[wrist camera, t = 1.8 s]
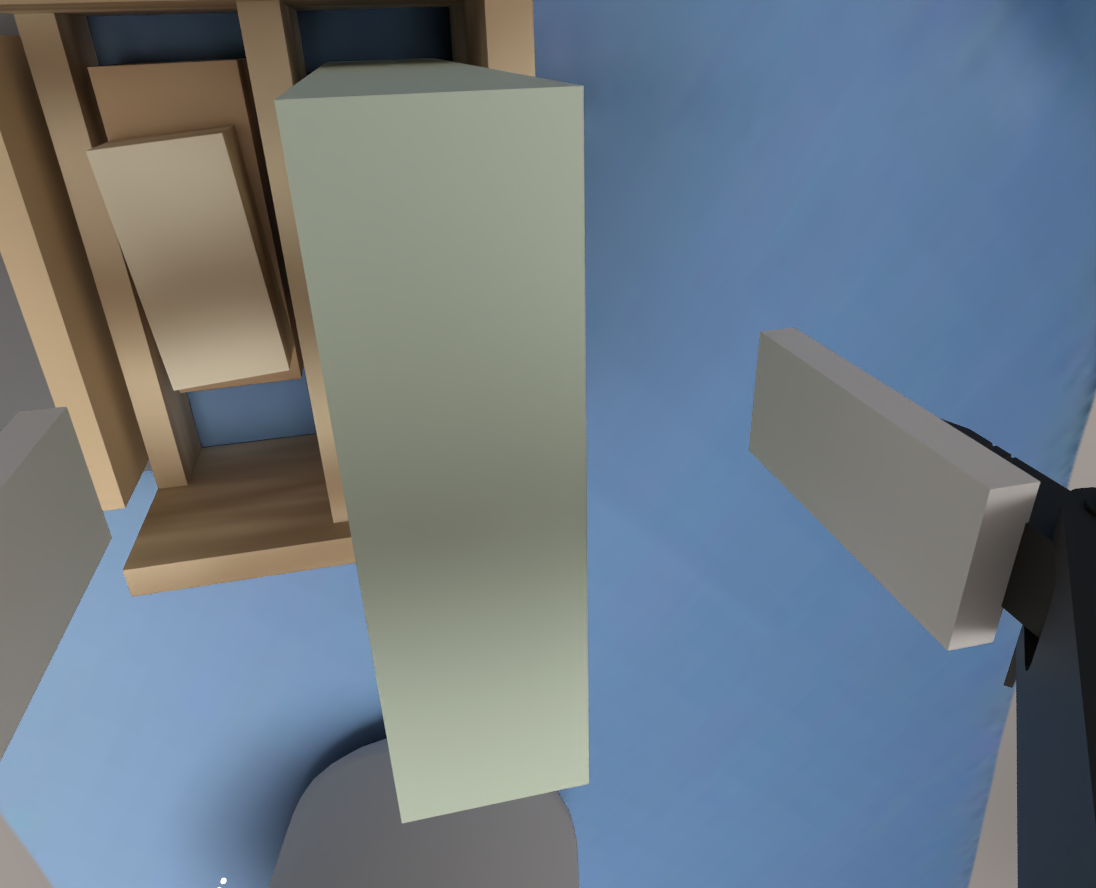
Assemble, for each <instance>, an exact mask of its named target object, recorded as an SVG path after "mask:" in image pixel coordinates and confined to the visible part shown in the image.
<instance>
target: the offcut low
mask: <svg viewBox="0 0 1096 888" xmlns="http://www.w3.org/2000/svg"><path fill="white" fill-rule="evenodd" d="M87 68H88V72H89V75H90V79H91V82H92V86H93V89H94V93H95V96H96V100H97V103H98V107H99V110H100V114H101V117H102V121H103V124H104V128H105V131H106V135H107V138H108V142H109V141H112V140H120V139H127V138H135V137H143V136H150V135H158V134H166V133H173V132H181V131H188V130H196V129H204V128H211V127H219V126H227V125H234V126H235V130H236V134H237V137H238V141H239V144H240V148H241V152H242V155H243V159H244V162H245V166H246V170H247V173H248V177H249V181H250V184H251V188H252V191H253V195H254V199H255V202H256V206H257V209H258V213H259V217H260V220H261V224H262V227H263V231H264V235H265V238H266V242H267V246H268V249H269V253H270V256H271V260H272V264H273V267H274V271H275V274H276V278H277V282H278V285H279V289H280V292H281V296H282V300H283V303H284V307H285V311H286V314H287V318H288V321H289V325H290V329H291V332H292V336H293V339H294V343H295V344H294V349H293V355H292V360H291V366H290V370H288V371H282V372H277V373H271V374H265V375H260V376H254V377H248V378H243V379H237V380H232V381H226V382H220V383H215V384H209V385H203V386H198V387H192V388H187V389H181V390H180V393H184V392H193V391H201V390H209V389H218V388H226V387H234V386H243V385H251V384H259V383H268V382H276V381H284V380H293V379H301V377H302V370H303V358H302V352H301V347H300V342H299V336H298V331H297V326H296V320H295V315H294V310H293V304H292V299H291V294H290V288H289V283H288V278H287V272H286V267H285V262H284V256H283V251H282V246H281V240H280V235H279V230H278V224H277V219H276V214H275V208H274V203H273V198H272V192H271V187H270V182H269V176H268V171H267V166H266V160H265V155H264V150H263V144H262V139H261V134H260V128H259V123H258V118H257V112H256V107H255V102H254V96H253V91H252V86H251V80H250V75H249V70H248V64H247V59H246V58H237V59H217V60H196V61H175V62H154V63H134V64H115V65H105V66H94V67H87Z"/></svg>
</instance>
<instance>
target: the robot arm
mask: <svg viewBox="0 0 1096 888" xmlns="http://www.w3.org/2000/svg"><path fill="white" fill-rule="evenodd" d="M749 451H750V452H751V453H752V454H753V455H754V456H755V457H756V458H757V459H758V460H759V461H760V462H761V463H762V464H763V465H764V466H765V467H766V468H767V469H768V470H769V471H770V472H771V473H772V474H773V475H774V476H775V477H776V478H777V479H778V480H779V481H780V482H781V483H782V484H783V485H784V486H785V487H786V488H787V489H788V490H789V491H790V492H791V493H792V494H793V495H794V496H795V497H796V498H797V499H798V500H799V501H800V502H801V503H802V504H803V505H804V506H805V507H806V508H807V509H808V510H809V511H810V512H811V513H812V514H813V516H814V517H815V518H816V519H817V520H818V521H819V522H820V523H821V524H822V525H823V526H824V527H825V528H826V529H827V530H828V531H829V532H830V533H831V534H832V535H833V536H834V537H835V538H836V539H837V540H838V541H839V542H840V543H841V544H842V545H843V546H844V547H845V548H846V549H847V550H848V551H849V552H850V553H851V554H852V555H853V556H854V557H855V558H856V559H857V560H858V561H859V562H860V563H861V564H862V565H863V566H864V567H865V568H866V569H867V570H868V571H869V572H870V573H871V574H872V575H873V576H874V577H875V578H876V579H877V580H878V581H879V582H880V583H881V584H882V585H883V586H884V587H885V588H886V589H887V590H888V591H889V592H890V593H891V594H892V595H893V596H894V597H895V598H896V599H897V600H898V601H899V602H900V603H901V604H902V605H903V606H904V607H905V608H906V609H907V610H908V611H909V612H910V613H911V614H912V615H913V616H914V617H915V618H916V619H917V620H918V621H919V622H920V623H921V624H922V625H923V626H924V627H925V629H926V630H927V631H928V632H929V633H930V634H931V635H932V636H933V637H934V638H935V639H936V640H937V641H938V642H939V643H940V644H941V645H942V646H943V647H944V648H945V649H946V650H947V651H950V650H955V649H960V648H965V647H970V646H975V645H980V644H985V643H991V642H993V641H994V637H995V634H996V631H997V627H998V624H999V620H1000V617H1001V614H1002V610H1003V608H1004V609H1005V610H1006V611H1008V612H1009V613H1010V614H1011V615H1012V616H1013V617H1015V618H1016V619H1017V620H1018V621H1019V622H1020V623H1022V624H1023V625H1022V628H1021V632H1020V635H1019V638H1018V641H1017V644H1016V648H1015V651H1014V654H1013V657H1012V660H1011V663H1010V667H1009V670H1008V673H1007V676H1006V679H1005V683H1004V685H1005V686H1008V687H1013V685H1014V683H1015V681H1016V695H1017V696H1016V697H1017V700H1016V701H1017V822H1018V823H1017V826H1018V827H1017V831H1018V832H1017V834H1018V888H1096V488H1093V487H1091V488H1080V489H1074V490H1072V491H1070V490H1068V489H1066V488H1065V487H1063V486H1061V485H1060V484H1058V483H1057V482H1055V481H1053V480H1052V479H1050V478H1048V477H1047V476H1045V475H1043V474H1042V473H1040V472H1039V471H1037V470H1035V469H1034V468H1032V467H1030V466H1029V465H1027V464H1025V463H1024V462H1022V461H1021V460H1019V459H1017V458H1016V457H1015V458H1011V454H1009V453H1008V452H1006V451H1004V450H1003V449H1001V448H999V447H998V446H992V443H991V442H990V441H988V440H986V439H985V438H983V437H981V436H980V435H978V434H977V433H975V432H973V431H972V430H970V429H968V428H965V427H962V426H959V425H957V424H954V423H951V422H948V421H945V420H943V419H940V418H938V417H936V416H935V415H933V414H932V413H930V412H928V411H927V410H925V409H924V408H922V407H920V406H919V405H917V404H916V403H914V402H912V401H911V400H909V399H908V398H906V397H905V396H903V395H901V394H900V393H898V392H897V391H895V390H893V389H892V388H890V387H889V386H887V385H885V384H884V383H882V382H881V381H879V380H877V379H876V378H874V377H873V376H871V375H869V374H868V373H866V372H865V371H863V370H861V369H860V368H858V367H857V366H855V365H853V364H852V363H850V362H849V361H847V360H845V359H844V358H842V357H841V356H839V355H837V354H836V353H834V352H833V351H831V350H829V349H828V348H826V347H825V346H823V345H821V344H820V343H818V342H817V341H815V340H813V339H812V338H810V337H809V336H807V335H805V334H804V333H802V332H801V331H799V330H797V329H796V328H787V329H778V330H768V331H760V340H759V350H758V360H757V371H756V381H755V391H754V401H753V412H752V422H751V432H750V443H749ZM111 538H112V537H111V534H110V531H109V528H108V525H107V522H106V519H105V516H104V513H103V511H102V508H101V505H100V502H99V499H98V496H97V493H96V490H95V487H94V484H93V481H92V479H91V476H90V473H89V470H88V467H87V464H86V461H85V458H84V455H83V452H82V449H81V446H80V444H79V441H78V438H77V435H76V432H75V429H74V426H73V423H72V420H71V417H70V414H69V412H68V409H67V407H58V408H49V409H40V410H30V411H21V412H18V413H17V414H16V415H15V416H14V417H13V419H12V420H11V421H10V422H9V423H8V424H7V425H6V426H5V427H4V428H3V429H2V430H1V431H0V761H1V759H2V757H3V755H4V753H5V751H6V749H7V747H8V745H9V743H10V741H11V739H12V737H13V735H14V733H15V731H16V729H17V727H18V725H19V723H20V721H21V719H22V717H23V715H24V713H25V711H26V709H27V707H28V705H29V703H30V701H31V699H32V697H33V695H34V693H35V691H36V689H37V687H38V685H39V683H40V681H41V679H42V677H43V675H44V673H45V671H46V669H47V667H48V665H49V663H50V661H51V659H52V657H53V655H54V653H55V651H56V649H57V647H58V645H59V643H60V641H61V639H62V637H63V635H64V633H65V631H66V629H67V627H68V625H69V623H70V621H71V619H72V617H73V615H74V613H75V611H76V609H77V607H78V605H79V603H80V601H81V599H82V597H83V595H84V593H85V591H86V589H87V587H88V585H89V583H90V581H91V579H92V577H93V575H94V573H95V571H96V569H97V567H98V565H99V563H100V561H101V559H102V557H103V555H104V553H105V550H106V548H107V546H108V544H109V542H110V540H111Z"/></svg>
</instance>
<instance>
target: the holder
mask: <svg viewBox="0 0 1096 888" xmlns="http://www.w3.org/2000/svg"><path fill="white" fill-rule="evenodd" d="M58 407H67V409H68V412H69V414H70V417H71V420H72V423H73V426H74V429H75V432H76V435H77V438H78V441H79V444H80V446H81V449H82V452H83V455H84V458H85V461H86V464H87V467H88V470H89V473H90V476H91V479H92V481H93V484H94V487H95V490H96V493H97V496H98V499H99V502H100V505H101V508H102V511H105V510H113V509H121V508H126V505H127V503H128V501H129V499H130V497H131V495H132V493H133V491H134V489H135V487H136V485H137V483H138V481H139V479H140V477H141V475H142V473H143V471H147V470H152V467H151V464H150V460H149V457H148V454H147V451H146V447H145V444H144V441H143V438H142V434H141V431H140V428H139V424H138V421H137V418H136V415H135V411H134V408H133V405H132V401H131V398H130V395H129V392H128V388H127V385H126V382H125V378H124V375H123V372H122V369H121V365H120V362H119V359H118V355H117V352H116V349H115V346H114V342H113V339H112V336H111V332H110V329H109V326H108V323H107V319H106V316H105V313H104V310H103V306H102V303H101V300H100V296H99V293H98V290H97V287H96V283H95V280H94V277H93V273H92V270H91V267H90V264H89V260H88V257H87V254H86V250H85V247H84V244H83V241H82V237H81V234H80V231H79V227H78V224H77V221H76V218H75V214H74V211H73V208H72V204H71V201H70V198H69V195H68V191H67V188H66V185H65V182H64V178H63V175H62V172H61V168H60V165H59V162H58V159H57V155H56V152H55V149H54V145H53V142H52V139H51V136H50V132H49V129H48V126H47V122H46V119H45V116H44V113H43V109H42V106H41V103H40V99H39V96H38V93H37V90H36V86H35V83H34V80H33V76H32V73H31V70H30V67H29V63H28V60H27V57H26V54H25V50H24V47H23V44H22V40H21V37H20V34H19V31H18V27H17V24H16V21H15V17H14V14H10V13H0V431H1V430H2V429H3V428H4V427H5V426H6V425H7V424H8V423H9V422H10V421H11V420H12V419H13V417H14V416H15V415H16V414H17V413H18V412H21V411H30V410H40V409H49V408H58Z"/></svg>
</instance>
